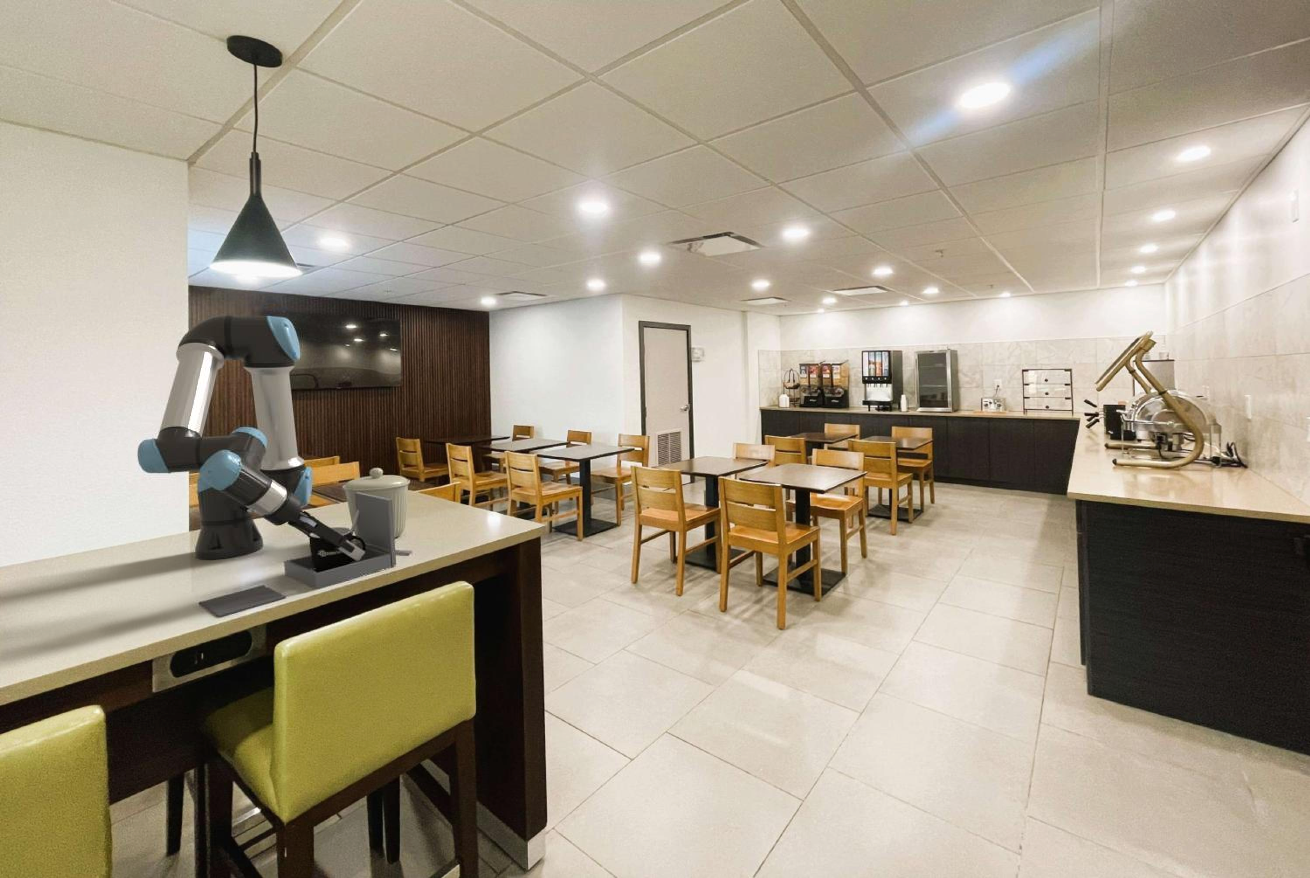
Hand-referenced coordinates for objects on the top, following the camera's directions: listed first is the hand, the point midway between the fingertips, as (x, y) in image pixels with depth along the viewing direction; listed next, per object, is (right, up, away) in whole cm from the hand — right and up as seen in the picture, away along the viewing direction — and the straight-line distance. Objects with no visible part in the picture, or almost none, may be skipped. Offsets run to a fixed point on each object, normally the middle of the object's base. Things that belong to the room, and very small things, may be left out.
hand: (351, 553), depth 141 cm
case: (-2, -4, -2) cm, 5 cm away
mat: (-12, -6, -20) cm, 25 cm away
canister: (-6, -1, +28) cm, 28 cm away
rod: (+5, -3, +12) cm, 13 cm away
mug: (-2, -4, -2) cm, 5 cm away
